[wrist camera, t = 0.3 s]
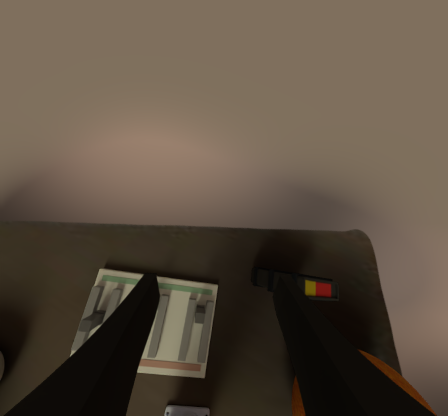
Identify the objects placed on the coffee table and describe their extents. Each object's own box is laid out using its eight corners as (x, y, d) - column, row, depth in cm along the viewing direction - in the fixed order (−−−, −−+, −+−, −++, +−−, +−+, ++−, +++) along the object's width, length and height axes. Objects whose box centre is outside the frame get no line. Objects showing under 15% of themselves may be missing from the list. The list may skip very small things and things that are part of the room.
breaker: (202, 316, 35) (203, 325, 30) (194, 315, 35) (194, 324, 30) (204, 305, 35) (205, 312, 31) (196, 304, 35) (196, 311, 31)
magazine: (240, 264, 39) (302, 274, 26) (279, 270, 45) (343, 281, 33) (238, 282, 38) (302, 301, 25) (278, 286, 44) (344, 303, 32)
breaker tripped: (103, 322, 32) (87, 333, 28) (94, 321, 32) (77, 332, 27) (107, 310, 33) (92, 319, 28) (98, 309, 32) (82, 318, 28)
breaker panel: (204, 373, 34) (204, 383, 31) (72, 361, 31) (60, 371, 28) (217, 284, 38) (218, 286, 35) (103, 268, 36) (95, 269, 33)
